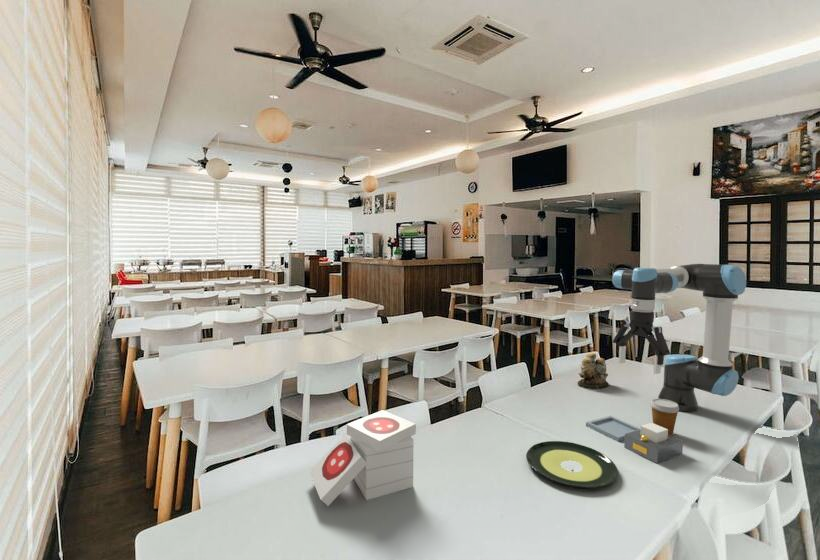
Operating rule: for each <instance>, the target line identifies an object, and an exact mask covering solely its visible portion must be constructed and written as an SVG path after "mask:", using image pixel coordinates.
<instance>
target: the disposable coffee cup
mask: <svg viewBox="0 0 820 560" xmlns="http://www.w3.org/2000/svg"><path fill="white" fill-rule="evenodd" d="M649 404H650V406H651V413H652V414H651V417H652V423H654V424H656V425H658V426H661V427H663V428H666V429H668V434H669V435H671V436H673V435H674V430H675V426H676V422H677V418H678V413H679V407H678V404H677V403H675V402H673V401H670V400H666V399H658V398H654V399H651V402H650V403H649Z"/></svg>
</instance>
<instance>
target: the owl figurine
mask: <svg viewBox="0 0 820 560" xmlns="http://www.w3.org/2000/svg"><path fill="white" fill-rule="evenodd" d="M580 369H581V372H578V375H579V376H580V378H581V379H579V380H578V381H577V385H578V386H579V387H582V388H584V389H588V390H596V389H597V390H602V388H603V389H606V388H607V387H609V385H610V384H609V382H608V381H607V378H608V376H609V374H608V373H607V364H606V360H605V358H602V357H599V358H597V354H596V353H594V352H588V353H587V354H586V355H585V356H584V358H582V360H581V365H580Z"/></svg>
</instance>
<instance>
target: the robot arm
mask: <svg viewBox="0 0 820 560" xmlns="http://www.w3.org/2000/svg"><path fill="white" fill-rule="evenodd" d="M743 270H744V269H742V268H741V267H740V266H737V265H731V264H715V263H714V264H713V263H711V264H710V263H692V264H691V263H690V264H683V265H682V264H681V265H675V266H671V267H669V268H654V267H634V268H633V270H632V269H631V270H630V269H629V270H626V269H617V270H615V272H613V274H612V280H611V282H612V285H613V286H614V288H617V289H621V290H631V296H630V309H631V310H630V311H629V320H630V321H629V320H627V319H626V320H622V321H621V326H620V327H619V330H618V331H617V333H616V335H615V336H614V338H613V340H612V342H613V344H616V345H617V354H618V364H620V365H621V364H625V363H626V353H627V346H626V343H628V342H629V340H631V339H632V338H633V337H634V336H636V337H637V336H639V337H641V338H645V339H646V340H647V341H648V343H649V345H650V346H651V347H652V349H653V351H654V352H655V353H656V354H655V355H654V360H653V374H654V375H659V374H661V372H662V371H661V369H662V365H663V366H664V369H663V386H662V388H661V391H660V392H659V394H658V397H657V399H666V400H670V401H673V402H675V403H677V404H678V407H679V411H680V412H688V413H690V412H697V410H698V407H699V403H698V401H697V400H698V399H697V397H696V393H695V389H698V390H701V391H704V392H706V393H710V394H712V395H717V396H721V397H726V396H727V397H728V396H729V395H731V394H732V393H733V392H734V390H735V389H736V388H737V386H738V383H739V382H738V381H739V377H740V376H739V372H738V371H737V370H736V369H734V368H733V363H732V362H731V361H730V360H729V353H730V342H731V329H732V320H733V319H732V317H733V304H734V302H735V301H737V300H738V299H739V296H740V295H741V296H742V294H744V293H745V291H746V288H747V277H746V273H745V272H744V271H743ZM676 289H687V290H690V291H691V290H692V291H699V292H702V298H704V299H705V300H706V304H705V305H706V307H705V321H704V334H703V350H702V356H701V357H699V358H697V356H695V355H692V354H682V353H681V354H679V353H677V354H676V353H674V354H671V352H670V349H669V346H668V344H667V341H666V338H665V337H664V334H663V327H662V326H654V324H653V323H654V321H655V307H656V294H667V293H672V292H674V291H676ZM629 328H630V329H629ZM628 329H629V330H628ZM627 330H628V331H627ZM626 332H627V333H626ZM664 358H665V359H664ZM679 411H678V412H679Z"/></svg>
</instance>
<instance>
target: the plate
mask: <svg viewBox="0 0 820 560" xmlns="http://www.w3.org/2000/svg"><path fill="white" fill-rule="evenodd" d="M525 456H526V461H527V463H528V465H529V466H530V467H531V468H532V470H534V471H535V472H536V473H538V474H539V475H541V476H542V477H544V478H546V479H548V480H550V481H552V482H554V483H555V482H556V483H558V484H561V485H565V486H568V487H574V488H584V489H586V488H587V489H596V488H604V487H607V486H610V485H612V484H614V483H615V482H616V481H617V479H618V477H619V469H618V468H617V464H615V462H613V460H612V459H610V458H609V457H608V456H606V455H605V454H604V453H603V452H600V451H598V450H597V449H595V448H591V447H589V446H585V445H582V444H579V443H576V442H569V441H561V440H560V441H559V440H551V441H542V442H538V443H536V444H533V445H532V446H531V447H530V448H529V449H528V450H527V452H526V455H525ZM569 460H571V461H576V462H579V463H580V464H581V465H582V466H583V467H582V468H583V469H582V471H580V472H570V471H567V470H565V469H564V468H562V467H561V465H560V464H561V462H563V461H569Z"/></svg>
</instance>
